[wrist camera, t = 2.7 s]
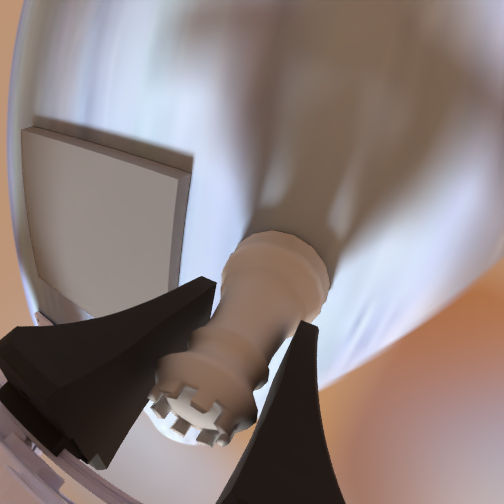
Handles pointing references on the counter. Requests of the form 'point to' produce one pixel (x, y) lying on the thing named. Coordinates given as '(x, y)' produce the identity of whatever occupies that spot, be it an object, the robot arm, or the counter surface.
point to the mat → (102, 221)
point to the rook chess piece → (241, 337)
